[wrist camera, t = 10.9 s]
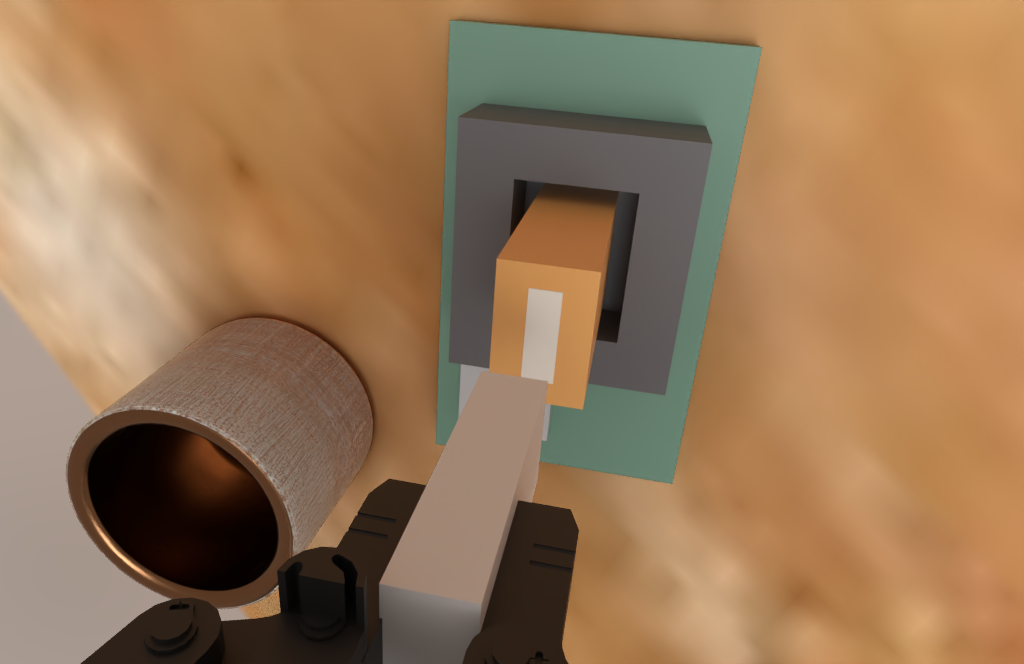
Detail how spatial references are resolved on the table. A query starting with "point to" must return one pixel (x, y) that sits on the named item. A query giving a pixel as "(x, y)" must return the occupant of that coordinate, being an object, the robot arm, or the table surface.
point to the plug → (554, 290)
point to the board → (638, 223)
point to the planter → (222, 462)
